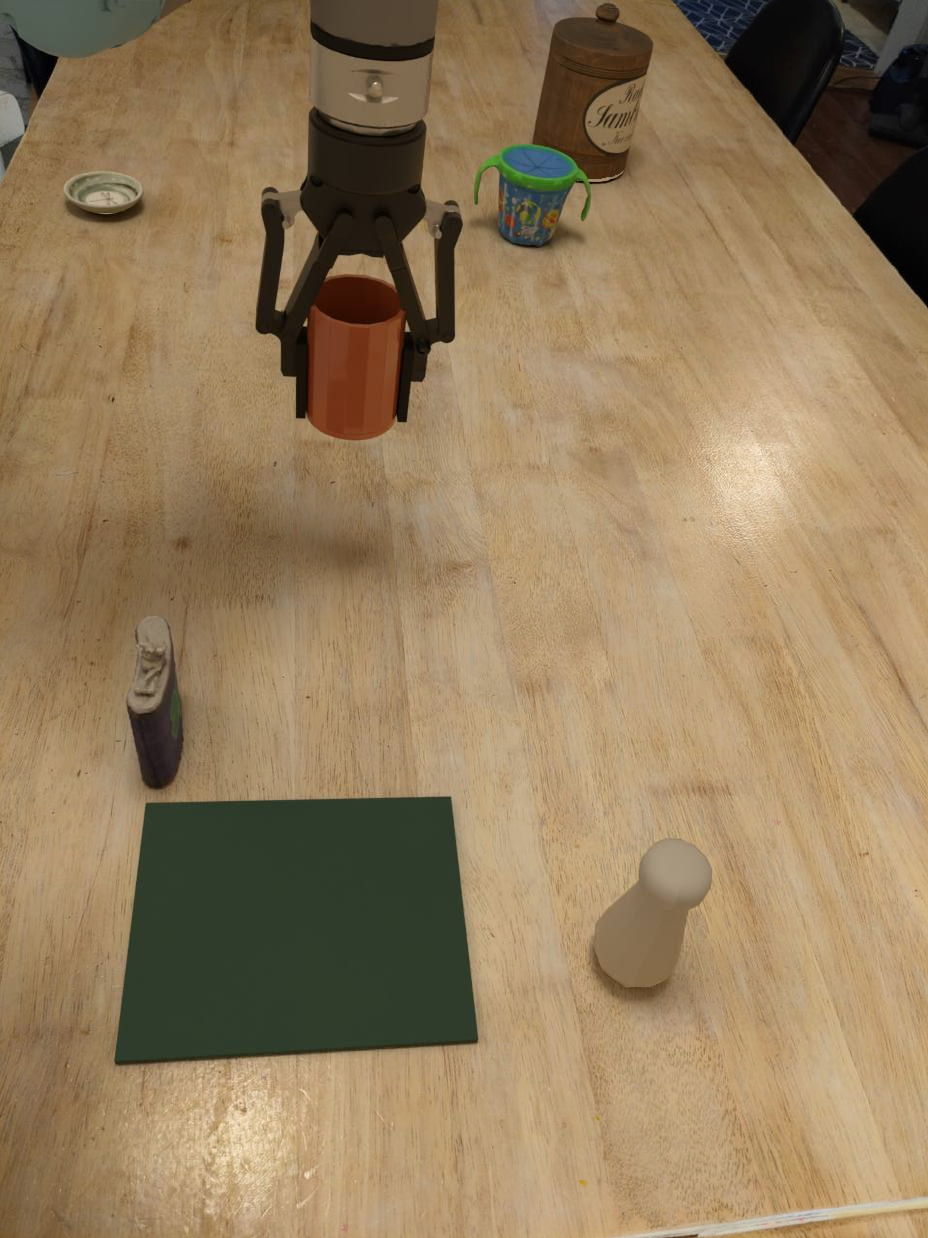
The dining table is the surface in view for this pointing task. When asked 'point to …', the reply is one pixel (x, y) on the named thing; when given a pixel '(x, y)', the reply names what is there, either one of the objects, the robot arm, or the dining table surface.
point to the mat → (295, 930)
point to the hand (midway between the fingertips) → (351, 409)
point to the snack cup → (532, 191)
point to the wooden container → (593, 91)
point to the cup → (354, 357)
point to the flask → (156, 704)
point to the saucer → (103, 191)
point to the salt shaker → (652, 915)
